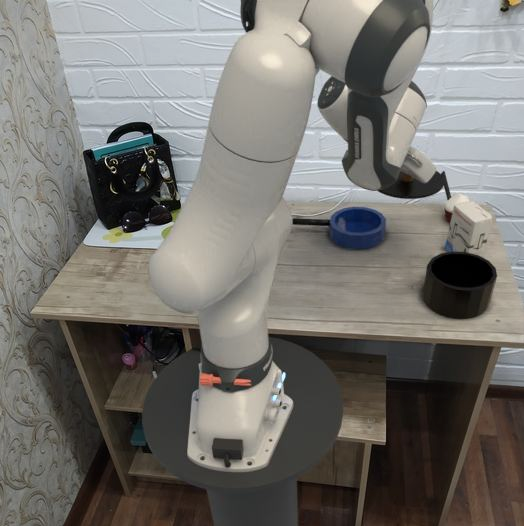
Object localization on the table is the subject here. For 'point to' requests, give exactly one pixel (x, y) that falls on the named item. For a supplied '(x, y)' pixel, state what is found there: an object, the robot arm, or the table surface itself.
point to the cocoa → (451, 199)
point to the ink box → (468, 229)
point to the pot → (459, 284)
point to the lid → (414, 187)
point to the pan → (357, 227)
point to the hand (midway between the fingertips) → (410, 171)
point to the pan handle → (311, 222)
